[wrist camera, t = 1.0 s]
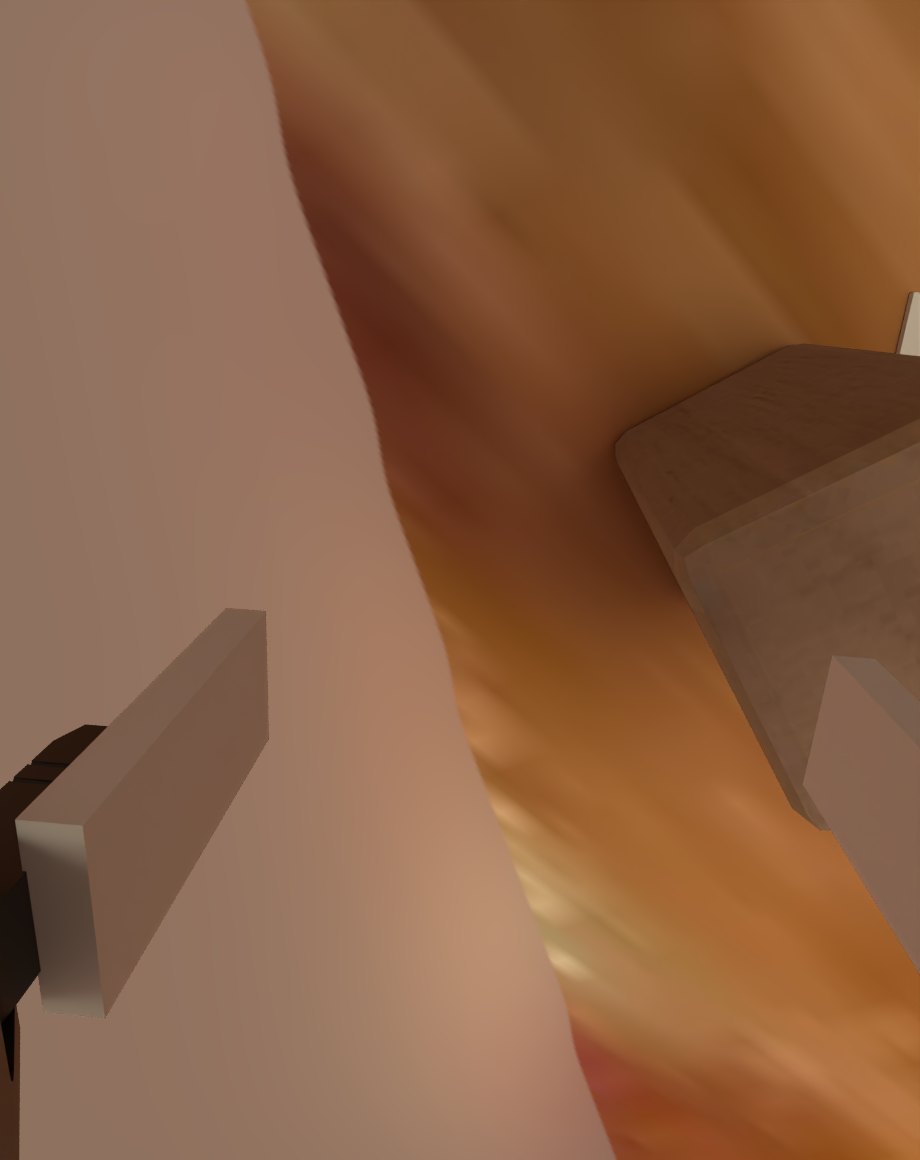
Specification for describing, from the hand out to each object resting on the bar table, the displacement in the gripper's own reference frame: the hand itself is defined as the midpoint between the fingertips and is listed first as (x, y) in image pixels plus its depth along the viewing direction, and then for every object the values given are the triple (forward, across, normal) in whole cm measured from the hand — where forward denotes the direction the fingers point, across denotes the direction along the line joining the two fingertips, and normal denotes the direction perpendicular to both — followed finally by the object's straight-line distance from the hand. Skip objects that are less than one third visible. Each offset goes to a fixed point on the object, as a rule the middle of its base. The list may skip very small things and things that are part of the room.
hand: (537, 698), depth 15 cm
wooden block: (+26, +11, 0) cm, 28 cm away
